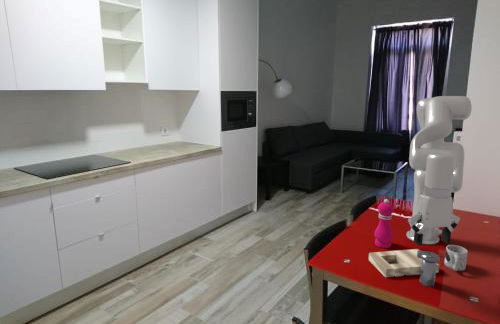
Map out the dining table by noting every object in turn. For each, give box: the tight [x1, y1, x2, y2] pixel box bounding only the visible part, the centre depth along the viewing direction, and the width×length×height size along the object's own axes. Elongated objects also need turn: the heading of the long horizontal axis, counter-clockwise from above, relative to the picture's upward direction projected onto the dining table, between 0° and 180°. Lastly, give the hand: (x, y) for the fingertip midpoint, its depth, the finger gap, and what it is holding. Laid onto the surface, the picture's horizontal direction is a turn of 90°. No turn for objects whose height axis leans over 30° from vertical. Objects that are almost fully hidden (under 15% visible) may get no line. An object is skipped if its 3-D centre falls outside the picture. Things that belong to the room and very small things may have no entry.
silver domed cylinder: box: [419, 250, 440, 287], centre depth 108 cm, size 5×5×10 cm
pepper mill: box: [374, 198, 395, 249], centre depth 134 cm, size 7×7×20 cm
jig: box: [368, 248, 440, 278], centre depth 119 cm, size 20×12×5 cm, turn 98°
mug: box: [443, 244, 469, 272], centre depth 117 cm, size 10×7×7 cm
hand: (431, 242), depth 106 cm, fingers open, 9 cm apart
